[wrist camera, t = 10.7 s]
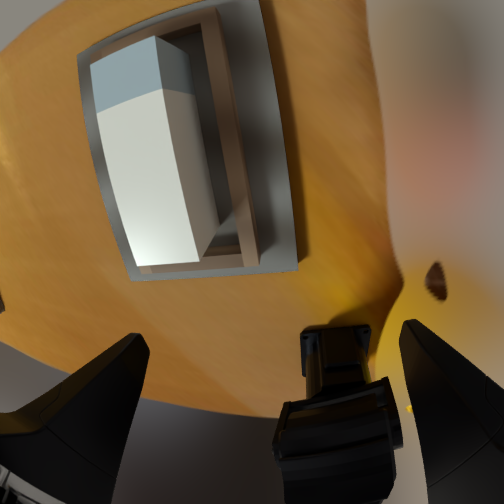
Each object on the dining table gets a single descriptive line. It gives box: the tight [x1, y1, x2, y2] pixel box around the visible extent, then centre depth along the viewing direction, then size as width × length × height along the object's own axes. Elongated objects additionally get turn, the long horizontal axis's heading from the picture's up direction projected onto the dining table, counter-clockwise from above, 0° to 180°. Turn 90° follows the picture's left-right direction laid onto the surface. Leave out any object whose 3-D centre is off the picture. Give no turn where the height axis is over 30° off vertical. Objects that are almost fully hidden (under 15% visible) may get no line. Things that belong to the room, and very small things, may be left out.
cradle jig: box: [77, 0, 298, 281], centre depth 16 cm, size 20×14×2 cm
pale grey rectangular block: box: [90, 36, 220, 266], centre depth 14 cm, size 12×4×5 cm, turn 8°
